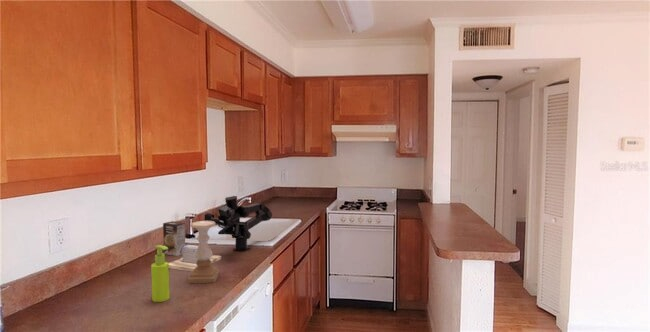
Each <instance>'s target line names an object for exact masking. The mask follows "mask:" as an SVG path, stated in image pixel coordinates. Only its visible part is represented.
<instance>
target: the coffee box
mask: <svg viewBox="0 0 650 332" xmlns="http://www.w3.org/2000/svg"><path fill="white" fill-rule="evenodd" d="M162 225H163V226H162V227H163V228H162V231H163V233H162V234H163V246H166V247H168V249H166V250H163V254H165V255H168V256H175V257H179V256H182V247H184V246H186V223H185V222H180V221H173V220H172V221H168V222H167V221H166V222H163V223H162Z"/></svg>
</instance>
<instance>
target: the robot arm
mask: <svg viewBox="0 0 650 332" xmlns="http://www.w3.org/2000/svg"><path fill="white" fill-rule="evenodd" d="M224 199H225V200H224V201H225V205H221V206H220V207H219V208H218V209H217V211H218V215H217V217H218V218H216V217H215V214H213V213H210V212H207V213H205V214H204V220H203V221H214V222H215V223H216V224H215V225H218V227H217V228H221V229H220V230H219V231H218V233H217V234H218V235H229V236H230V235H231V238H232V239H235V247H234V248H233V251H241V252H244V251H246V250H248V249H250V246H248V240H249V239H250V238H251V235H252V233H251V232H250V230H252V228H254V227H256V226H257V225H258V224H260V223H262V222H268V221H270V220H271V219H272V217H273V213H272V211H271V209H270V208H269V207H267V206H266V205H265V203H262V202H255V203H252V204H249V205H246V206H243V205H239V204H238V196H237V195H232V196H227V197H225V198H224ZM252 213H254V214H255V215H254V216H253V217H251V218H249V219H248V220H246V221H241V219H240V218H242V219H243V218H244V219H245V218H247V217H248V216H250V214H252Z"/></svg>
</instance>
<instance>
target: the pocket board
mask: <svg viewBox="0 0 650 332" xmlns="http://www.w3.org/2000/svg"><path fill="white" fill-rule="evenodd" d="M209 259H210V260H211V264H213V263H216V262H218V261H220V260H222V255H218V254H217V255H215V254H212V257H211V258H209ZM168 263H169V269H171V270H173V269H174V270H179V271H186V272H191V273H192V271H193V270H194V269H195V268H196V267H198V266H197V265H196V264H193V263H185V262H183V257H180V258H179V259H176V260H173V261H170V262H168ZM211 264H210V265H211Z"/></svg>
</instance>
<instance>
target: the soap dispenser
mask: <svg viewBox="0 0 650 332" xmlns="http://www.w3.org/2000/svg"><path fill="white" fill-rule="evenodd" d="M154 248H155V249H156V252H157V253H156V254H155V255H154V263H152V264H151V265H150V267H151V268H150V269H151V270H150V271H151V273H150V274H151V301H152V302H153V303H163V302H166V301H168V300H169V299H170V271H169V269H170V268H169V263H170V262H167V261H166V256H165V255H166V254H164V252H163V251H164V250H166V249H168V247H166V246H164V244H163V245H161V244H159V245H154Z"/></svg>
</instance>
